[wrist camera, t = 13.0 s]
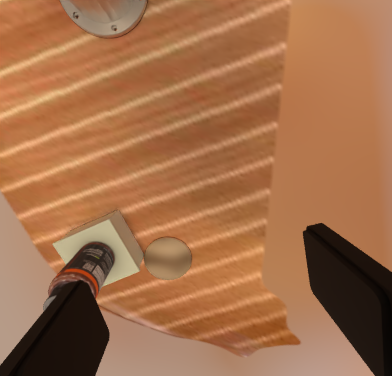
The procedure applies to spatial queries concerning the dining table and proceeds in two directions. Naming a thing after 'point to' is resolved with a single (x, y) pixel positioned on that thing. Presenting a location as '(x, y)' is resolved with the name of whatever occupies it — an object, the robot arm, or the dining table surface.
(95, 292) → the supplement bottle
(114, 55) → the dining table surface
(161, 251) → the tan round plate
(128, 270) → the grey-green block
